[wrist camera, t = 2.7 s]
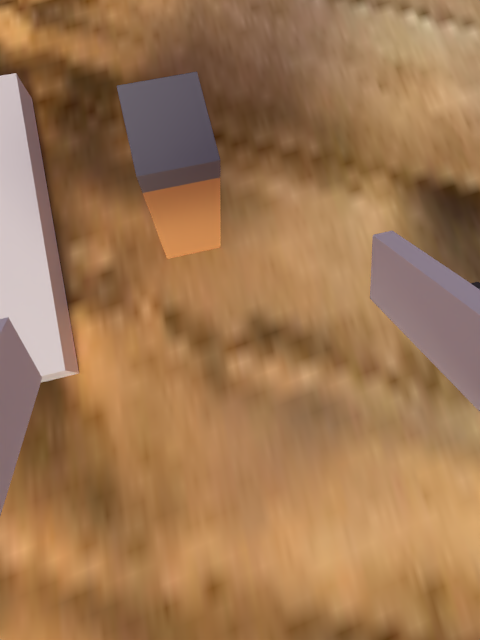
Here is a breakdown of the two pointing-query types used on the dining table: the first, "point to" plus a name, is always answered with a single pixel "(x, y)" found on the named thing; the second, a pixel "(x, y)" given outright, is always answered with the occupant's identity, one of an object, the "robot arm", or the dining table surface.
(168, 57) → the dining table surface
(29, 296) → the socket
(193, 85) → the two-tone grey orange block
